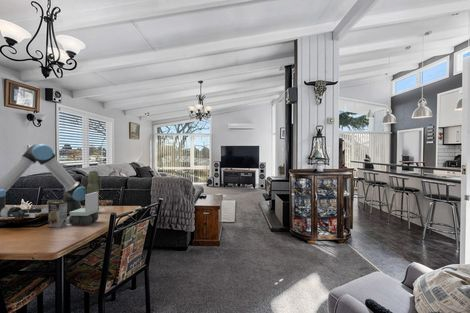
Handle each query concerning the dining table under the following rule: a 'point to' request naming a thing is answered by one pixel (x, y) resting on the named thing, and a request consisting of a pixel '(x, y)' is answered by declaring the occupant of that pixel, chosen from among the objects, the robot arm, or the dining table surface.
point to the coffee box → (57, 214)
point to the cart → (86, 211)
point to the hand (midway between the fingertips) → (43, 213)
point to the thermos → (92, 183)
